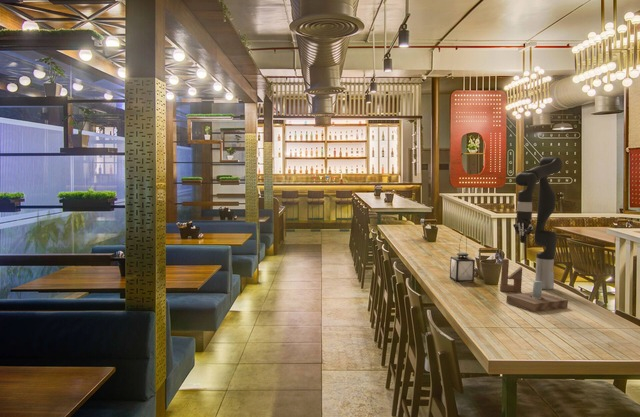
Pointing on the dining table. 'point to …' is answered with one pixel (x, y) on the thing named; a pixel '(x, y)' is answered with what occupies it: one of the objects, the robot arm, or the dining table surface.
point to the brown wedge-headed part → (515, 275)
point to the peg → (537, 289)
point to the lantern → (462, 267)
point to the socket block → (537, 302)
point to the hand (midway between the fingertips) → (522, 242)
